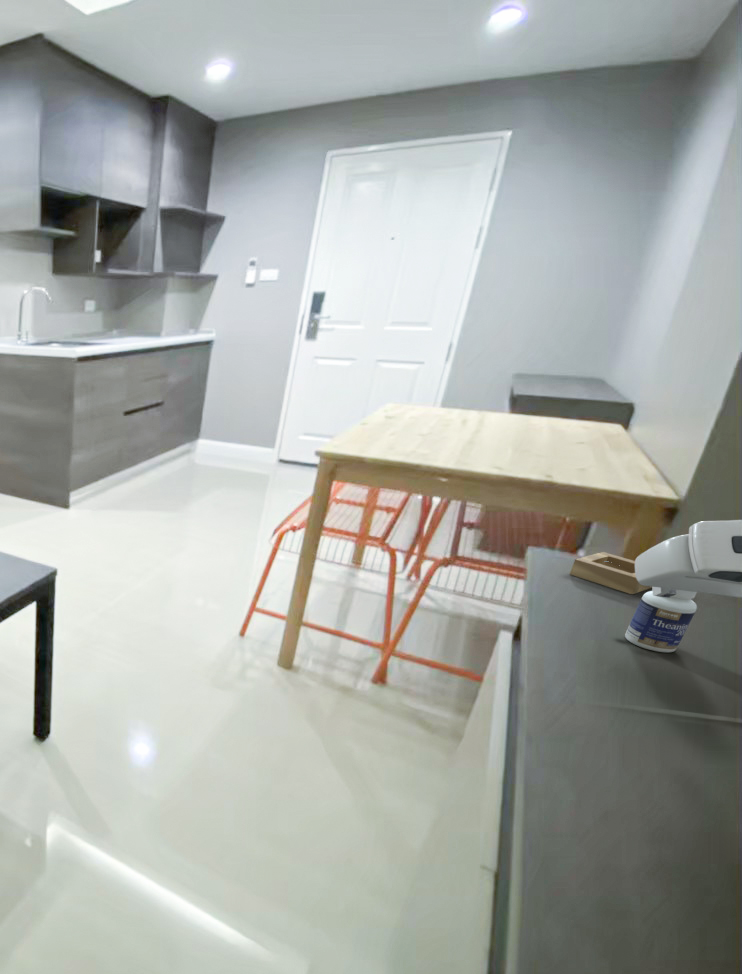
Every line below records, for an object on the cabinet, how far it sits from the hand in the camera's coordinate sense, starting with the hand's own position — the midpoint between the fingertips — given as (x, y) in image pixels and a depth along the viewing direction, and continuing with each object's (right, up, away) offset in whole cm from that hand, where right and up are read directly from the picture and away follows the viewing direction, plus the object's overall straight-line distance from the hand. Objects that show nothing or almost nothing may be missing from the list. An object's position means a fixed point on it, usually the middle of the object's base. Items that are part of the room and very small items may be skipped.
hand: (705, 597), depth 79 cm
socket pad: (+17, +1, +29) cm, 34 cm away
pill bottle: (+2, -8, +9) cm, 12 cm away
